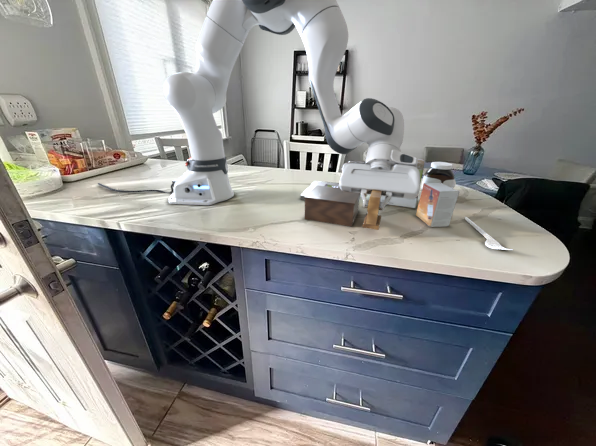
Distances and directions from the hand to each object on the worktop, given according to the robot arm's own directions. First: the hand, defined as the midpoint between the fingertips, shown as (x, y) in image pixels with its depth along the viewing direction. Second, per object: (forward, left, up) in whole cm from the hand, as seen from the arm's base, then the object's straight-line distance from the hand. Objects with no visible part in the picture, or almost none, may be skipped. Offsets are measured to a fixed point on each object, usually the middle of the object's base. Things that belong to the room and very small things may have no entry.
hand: (373, 208), depth 63 cm
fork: (+28, -5, -7) cm, 29 cm away
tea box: (+16, +22, -7) cm, 28 cm away
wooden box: (-8, +12, -7) cm, 15 cm away
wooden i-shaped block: (0, +1, -5) cm, 5 cm away
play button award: (-5, +33, -7) cm, 34 cm away
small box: (+20, +5, -7) cm, 22 cm away
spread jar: (+37, +29, -7) cm, 47 cm away
